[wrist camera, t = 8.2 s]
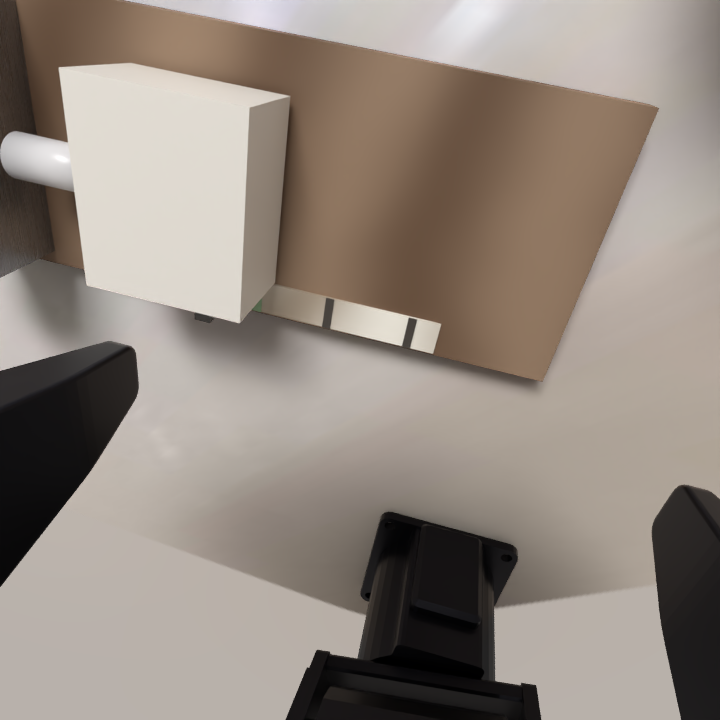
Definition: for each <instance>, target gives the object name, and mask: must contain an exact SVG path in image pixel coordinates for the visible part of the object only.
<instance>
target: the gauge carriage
mask: <svg viewBox="0 0 720 720" xmlns="http://www.w3.org/2000/svg"><path fill="white" fill-rule="evenodd" d="M59 75H60V83H61V90H62V98H63V106H64V114H65V122H66V130H67V137H68V142H64V141H59V140H55V139H50V138H46V137H41V136H37V135H32V134H28V133H23V132H19V131H13V132H11V133H9V134H8V135H7V136H6V137H5V138H4V140H3V142H2V144H1V149H0V158H1V163H2V166H3V168H4V169H5V171H6V172H7V173H8V174H9V175H10V176H11V177H13V178H16V179H20V180H24V181H29V182H33V183H37V184H42V185H46V186H50V187H54V188H59V189H63V190H67V191H72V192H75V200H76V208H77V215H78V223H79V231H80V239H81V247H82V254H83V262H84V270H85V278H86V285H87V286H91V287H95V288H99V289H103V290H107V291H111V292H115V293H119V294H123V295H127V296H131V297H135V298H139V299H143V300H147V301H152V302H156V303H160V304H164V305H168V306H172V307H176V308H180V309H184V310H188V311H192V312H195V319H196V320H200V321H204V322H208V323H210V322H211V321H212V320H213V319H214V317H216V318H220V319H224V320H228V321H232V322H236V323H241V321H242V320H243V319H244V318H245V317H246V316H247V314H248V313H249V312H250V311H251V310H252V309H253V308H254V306H255V305H256V304H257V303H258V302H259V301H260V299H261V298H262V297H263V296H264V295H265V294H266V293H267V291H268V290H269V289H270V288H271V287H272V286H273V284H274V283H275V277H276V265H277V253H278V240H279V228H280V216H281V204H282V192H283V179H284V167H285V155H286V143H287V130H288V118H289V106H290V96H288V95H283V94H278V93H273V92H268V91H264V90H259V89H254V88H249V87H244V86H240V85H235V84H230V83H225V82H220V81H216V80H211V79H206V78H201V77H196V76H191V75H187V74H182V73H177V72H172V71H167V70H163V69H158V68H153V67H148V66H143V65H139V64H134V63H120V64H104V65H87V66H71V67H59Z"/></svg>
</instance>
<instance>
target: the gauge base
mask: <svg viewBox="0 0 720 720" xmlns="http://www.w3.org/2000/svg"><path fill="white" fill-rule="evenodd" d="M16 4H17V11H18V17H19V23H20V30H21V36H22V42H23V49H24V55H25V62H26V68H27V74H28V81H29V87H30V93H31V100H32V106H33V113H34V119H35V125H36V132H37V136H41V137H46V138H50V139H55V140H59V141H64V142H68V137H67V130H66V122H65V114H64V106H63V98H62V90H61V83H60V75H59V67H71V66H87V65H104V64H120V63H134V64H139V65H143V66H148V67H153V68H158V69H163V70H167V71H172V72H177V73H182V74H187V75H191V76H196V77H201V78H206V79H211V80H216V81H220V82H225V83H230V84H235V85H240V86H244V87H249V88H254V89H259V90H264V91H268V92H273V93H278V94H283V95H288V96H290V106H289V118H288V130H287V143H286V155H285V167H284V179H283V192H282V204H281V216H280V228H279V240H278V253H277V265H276V277H275V283H274V284H273V286H272V287H271V288H270V289H269V290H268V291H267V293H266V294H265V295H264V296H263V297H262V298H261V299H260V301H259V302H258V303H257V304H256V305H255V306H254V308H253V309H252V310H251V311H255V312H260V313H264V314H268V315H272V316H276V317H280V318H284V319H288V320H292V321H296V322H300V323H304V324H309V325H313V326H317V327H321V328H325V329H329V330H333V331H337V332H341V333H345V334H349V335H354V336H358V337H362V338H366V339H370V340H374V341H378V342H382V343H386V344H390V345H394V346H399V347H403V348H407V349H411V350H415V351H419V352H423V353H427V354H431V355H435V356H439V357H443V358H448V359H452V360H456V361H460V362H464V363H468V364H472V365H476V366H480V367H484V368H488V369H493V370H497V371H501V372H505V373H509V374H513V375H517V376H521V377H525V378H529V379H533V380H538V381H542V382H543V379H544V377H545V375H546V372H547V370H548V368H549V365H550V363H551V360H552V358H553V356H554V353H555V351H556V349H557V346H558V344H559V342H560V339H561V337H562V335H563V332H564V330H565V328H566V325H567V323H568V321H569V318H570V316H571V314H572V311H573V309H574V306H575V304H576V302H577V299H578V297H579V295H580V292H581V290H582V288H583V285H584V283H585V281H586V278H587V276H588V274H589V271H590V269H591V267H592V264H593V262H594V260H595V257H596V255H597V252H598V250H599V248H600V245H601V243H602V241H603V238H604V236H605V234H606V231H607V229H608V227H609V224H610V222H611V220H612V217H613V215H614V213H615V210H616V208H617V206H618V203H619V201H620V199H621V196H622V194H623V191H624V189H625V187H626V184H627V182H628V180H629V177H630V175H631V173H632V170H633V168H634V166H635V163H636V161H637V159H638V156H639V154H640V152H641V149H642V147H643V145H644V142H645V140H646V137H647V135H648V133H649V130H650V128H651V126H652V123H653V121H654V119H655V116H656V114H657V112H658V109H659V108H657V107H655V106H652V105H650V104H645V103H640V102H635V101H630V100H625V99H620V98H614V97H609V96H604V95H599V94H594V93H589V92H584V91H579V90H574V89H569V88H564V87H559V86H554V85H549V84H544V83H539V82H534V81H529V80H523V79H518V78H513V77H508V76H503V75H498V74H493V73H488V72H483V71H478V70H473V69H468V68H463V67H458V66H453V65H448V64H443V63H438V62H433V61H427V60H422V59H417V58H412V57H407V56H402V55H397V54H392V53H387V52H382V51H377V50H372V49H367V48H362V47H357V46H352V45H347V44H342V43H336V42H331V41H326V40H321V39H316V38H311V37H306V36H301V35H296V34H291V33H286V32H281V31H276V30H271V29H266V28H261V27H256V26H251V25H245V24H240V23H235V22H230V21H225V20H220V19H215V18H210V17H205V16H200V15H195V14H190V13H185V12H180V11H175V10H170V9H165V8H160V7H155V6H149V5H144V4H139V3H134V2H129V1H124V0H16ZM45 189H46V195H47V202H48V208H49V215H50V221H51V227H52V234H53V240H54V246H55V251H54V252H52V253H50V254H48V255H46V256H44V257H42V258H39V259H43V260H47V261H51V262H55V263H59V264H63V265H67V266H71V267H76V268H80V269H84V262H83V254H82V247H81V239H80V231H79V223H78V215H77V208H76V200H75V192H72V191H67V190H63V189H59V188H54V187H50V186H46V185H45Z"/></svg>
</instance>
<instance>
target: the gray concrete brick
mask: <svg viewBox="0 0 720 720" xmlns="http://www.w3.org/2000/svg"><path fill="white" fill-rule="evenodd" d="M13 131H19V132H23V133H28V134H32V135H37V132H36V125H35V119H34V113H33V106H32V100H31V93H30V87H29V81H28V74H27V68H26V62H25V55H24V49H23V42H22V36H21V30H20V23H19V17H18V11H17V4H16V0H0V149H1V144H2V142H3V140H4V138H5V137H6V136H7V135H8V134H9V133H11V132H13ZM54 251H55V246H54V240H53V234H52V227H51V221H50V215H49V208H48V202H47V195H46V189H45V185H42V184H37V183H33V182H29V181H24V180H20V179H16V178H13V177H11V176H10V175H9V174H8V173H7V172H6V171H5V169H4V168H3V166H2V163H1V158H0V278H1V277H3V276H5V275H7V274H9V273H11V272H13V271H15V270H17V269H19V268H21V267H23V266H25V265H27V264H29V263H31V262H33V261H35V260H37V259H39V258H42V257H44V256H46V255H48V254H50V253H52V252H54Z"/></svg>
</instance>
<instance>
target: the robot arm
mask: <svg viewBox="0 0 720 720" xmlns="http://www.w3.org/2000/svg"><path fill="white" fill-rule="evenodd" d="M138 389H139V382H138V370H137V359H136V352H135V350H134V349H133V348H132V347H131V346H129V345H125V344H121V343H117V342H112V341H107V342H103V343H100V344H96V345H92V346H89V347H85V348H82V349H78V350H74V351H71V352H67V353H64V354H60V355H56V356H53V357H49V358H46V359H42V360H38V361H35V362H31V363H28V364H24V365H20V366H17V367H13V368H10V369H6V370H2V371H0V587H1V586H2V584H3V583H4V582H5V580H6V579H7V578H8V577H9V575H10V574H11V573H12V571H13V570H14V569H15V568H16V566H17V565H18V564H19V562H20V561H21V560H22V559H23V557H24V556H25V555H26V554H27V552H28V551H29V550H30V548H31V547H32V546H33V545H34V543H35V542H36V541H37V539H38V538H39V537H40V535H41V534H42V533H43V532H44V531H45V529H46V528H47V527H48V525H49V524H50V523H51V521H52V520H53V519H54V518H55V516H56V515H57V514H58V513H59V511H60V510H61V509H62V507H63V506H64V505H65V504H66V502H67V501H68V500H69V499H70V497H71V496H72V495H73V493H74V492H75V491H76V490H77V488H78V487H79V486H80V484H81V483H82V482H83V481H84V479H85V478H86V476H87V475H88V474H89V472H90V471H91V470H92V468H93V467H94V465H95V464H96V462H97V461H98V459H99V458H100V456H101V454H102V453H103V451H104V449H105V448H106V446H107V445H108V443H109V441H110V440H111V438H112V437H113V435H114V433H115V432H116V430H117V428H118V427H119V425H120V424H121V422H122V420H123V419H124V417H125V416H126V414H127V412H128V411H129V409H130V407H131V406H132V404H133V403H134V401H135V399H136V397H137V394H138ZM388 522H391V523H388ZM652 542H653V552H654V562H655V572H656V582H657V591H658V601H659V611H660V619H661V626H662V631H663V636H664V641H665V646H666V651H667V656H668V660H669V665H670V670H671V674H672V679H673V683H674V688H675V693H676V697H677V702H678V707H679V711H680V716H681V720H720V499H719V498H718V497H717V496H716V495H714V494H713V493H712V492H710V491H708V490H705V489H701V488H697V487H693V486H689V485H680V486H678V487H677V488H676V489H675V490H674V491H673V492H672V494H671V495H670V497H669V498H668V500H667V501H666V503H665V504H664V506H663V507H662V509H661V510H660V512H659V513H658V515H657V516H656V518H655V520H654V522H653V526H652ZM504 554H508V555H504ZM517 560H518V553H517V549H516V548H515V547H514V546H513V545H510V544H507V543H504V542H500V541H496V540H493V539H489V538H485V537H482V536H478V535H474V534H471V533H467V532H463V531H459V530H456V529H452V528H448V527H445V526H441V525H437V524H434V523H430V522H426V521H423V520H419V519H415V518H412V517H408V516H404V515H401V514H397V513H393V512H386V513H384V514H382V516H381V518H380V522H379V526H378V529H377V533H376V537H375V540H374V544H373V548H372V552H371V555H370V559H369V563H368V566H367V570H366V574H365V577H364V581H363V585H362V589H361V597H362V598H363V599H364V600H366V601H369V605H368V610H367V615H366V620H365V625H364V629H363V635H362V639H361V644H360V649H359V654H358V659H356V658H350V657H344V656H337V655H332V654H330V652H328V651H322V650H317V651H316V653H315V655H314V658H313V660H312V663H311V665H310V668H307V669H306V671H305V674H304V676H303V678H302V681H301V684H300V686H299V688H298V691H297V693H296V696H295V698H294V700H293V703H292V706H291V708H290V710H289V713H288V715H287V718H286V720H541V715H540V708H539V701H538V694H537V688H536V685H531V684H525V683H521V685H515V684H508V683H502V682H496V681H495V645H494V644H495V642H494V606H495V604H496V602H497V600H498V598H499V596H500V594H501V592H502V590H503V588H504V586H505V584H506V582H507V580H508V578H509V576H510V574H511V572H512V570H513V569H514V567H515V565H516V563H517Z"/></svg>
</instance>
